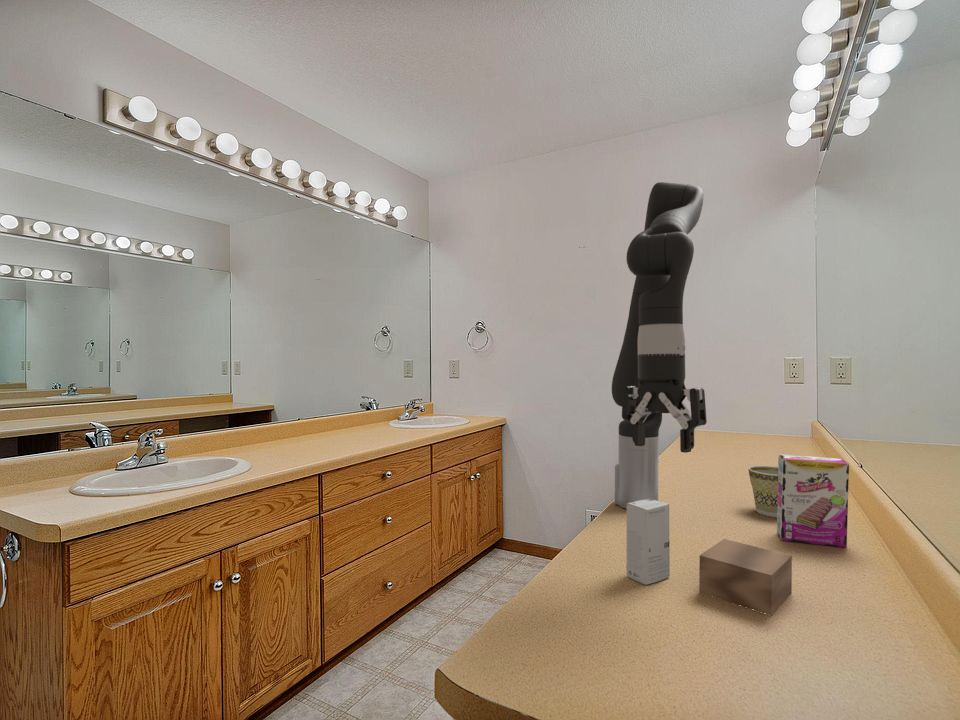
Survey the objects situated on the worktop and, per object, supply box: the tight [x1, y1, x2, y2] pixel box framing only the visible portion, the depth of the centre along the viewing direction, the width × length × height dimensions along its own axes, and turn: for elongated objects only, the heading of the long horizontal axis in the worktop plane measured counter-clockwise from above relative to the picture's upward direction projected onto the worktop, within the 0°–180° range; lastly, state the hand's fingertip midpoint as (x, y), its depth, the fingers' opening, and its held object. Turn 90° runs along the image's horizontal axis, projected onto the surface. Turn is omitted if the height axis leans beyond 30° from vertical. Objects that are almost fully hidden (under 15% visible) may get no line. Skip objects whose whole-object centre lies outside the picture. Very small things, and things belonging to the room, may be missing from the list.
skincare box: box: [625, 499, 671, 586], centre depth 84 cm, size 6×4×12 cm
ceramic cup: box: [748, 465, 778, 518], centre depth 117 cm, size 13×10×10 cm
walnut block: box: [698, 538, 793, 616], centre depth 79 cm, size 10×10×6 cm
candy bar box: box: [776, 454, 850, 548], centre depth 101 cm, size 11×5×16 cm, turn 71°
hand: (662, 448), depth 86 cm, fingers open, 8 cm apart
